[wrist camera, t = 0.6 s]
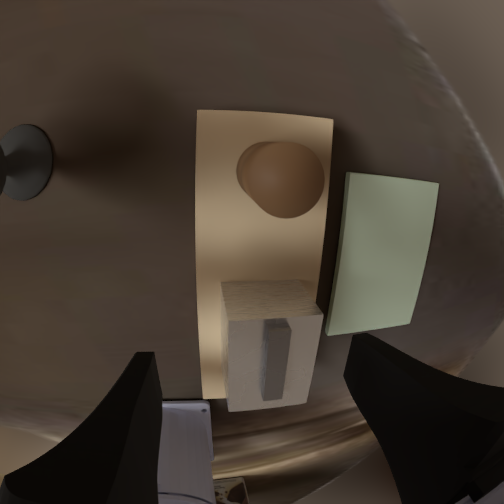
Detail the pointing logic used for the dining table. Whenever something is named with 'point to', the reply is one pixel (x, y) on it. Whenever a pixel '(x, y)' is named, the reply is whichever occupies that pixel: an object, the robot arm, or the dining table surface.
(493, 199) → the dining table surface
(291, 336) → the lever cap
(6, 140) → the sundae
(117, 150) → the dining table surface
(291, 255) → the panel with round knob
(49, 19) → the dining table surface
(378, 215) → the board
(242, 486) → the coffee box
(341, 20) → the dining table surface
